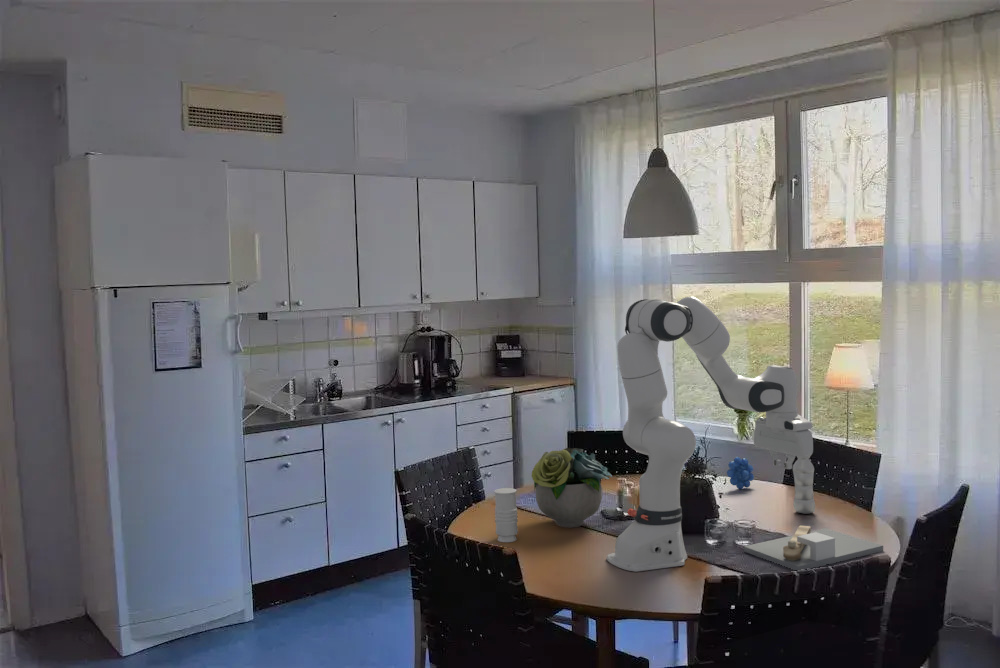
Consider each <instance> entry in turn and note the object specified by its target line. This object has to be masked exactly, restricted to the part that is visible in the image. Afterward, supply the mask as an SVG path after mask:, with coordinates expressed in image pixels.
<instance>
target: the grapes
mask: <svg viewBox="0 0 1000 668" xmlns="http://www.w3.org/2000/svg"><path fill="white" fill-rule="evenodd" d="M727 464H728V468H729V469H728V470H727V471H726V476H727V477H728V478H729V483H730V484H731V485H732V486H736V488H737V489H738V490H743V489H744V488H750V486H751V482H752V481H754V480H755V475H754V474H753V471H754V467H753V466H752V465H751V464H749V460H748V459H747V458H745V457H744V458H740V457H739V456H736V457H735V458H734V459H733V461H729V462H728V463H727Z"/></svg>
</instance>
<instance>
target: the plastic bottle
mask: <svg viewBox="0 0 1000 668" xmlns="http://www.w3.org/2000/svg"><path fill="white" fill-rule="evenodd" d="M796 458H797V460H795V462H793V463H794V464H792V473H793V478H794V479H793V480H794V498H793V509H794V511H795V512H796V513H798V514H799V513H800V514H804V515H806V514H812V513H814V512H815V509H816V502H815V501H816V500H815V499H814V490H813V489H814V485H813V484H814V474H815V473H814V472H815V467H814V465H813V463H812V461H811V460H810V459H811V456H809V457H798V456H796Z"/></svg>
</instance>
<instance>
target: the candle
mask: <svg viewBox="0 0 1000 668" xmlns="http://www.w3.org/2000/svg"><path fill="white" fill-rule="evenodd" d="M493 492H494V494H495V495H494V497H495V498H494V501H495V508H494V511H495V512H494V515H495V516H494V518H495V520H494V523H495V534H496V535H497V536H498V537H497V541H498V542H500V543H512V542H516V541H517V536H516V535H517V534H518V533H519V529H518V522H519V520H518V514H519V513H518V507H517V489H516V488H512V487H501V488H496V489H494V491H493Z"/></svg>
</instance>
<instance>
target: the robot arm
mask: <svg viewBox="0 0 1000 668" xmlns="http://www.w3.org/2000/svg"><path fill="white" fill-rule="evenodd" d="M624 332H625V335H623V336H622V337H621V338H620V339H619V341H618V342H617V347H616V348H617V360H618V361H617V362H618V367H619V371H620V372H619V373H620V376H621V380H622V384H623V387H624V392H625V396H626V400H627V413H628V414H627V421H626V422H625V423H624V425H623V428H622V429H623V430H622V437H623V440H624V443H626V445H627V446H629V447H630V448H631V449H632V450H634V451H636V452H637V453H639V454H643V455H646V456H648V464H647V467H646V470H645V472H644V473H643V474H641V476H640V478H639V480H638V481H639V483H638V486H639V505H638V507H637V510H636V509H633V508H628V510H627V515H628V516H629V517H633V518H634V521H633V522H631V524H630V525H629V526H628V527H627V528H626V529H625V530H623V531H622V533H620V534H619V535H618V536H617V538H616V540H615V546H614V552H611V553H609V554H607V555H606V560H607V562H609V563H610V564H611V565H612V566H615V567H617V568H619V569H622V570H625V571H630V572H644V571H645V572H646V571H650V570H652V571H653V570H660V569H666V568H674V567H680V566H685V563H686V562H685V561H686V560H687V559H688V554H687V551H686V548H685V543H684V538H683V530H682V520H683V511H682V509H683V508H682V506H681V478H682V476H681V475H682V472H683V468H684V466H685V464H686V462H687V460H689V458H691V457H692V455H693V454H694V452H695V450H696V447H697V439H696V435H695V433H694V432H693V431H692V429H691V428H689V427H688V426H686V425H685V424H683V423H681V422H680V421H677V420H671V419H668V418H667V419H666V418H665V417H664V413H663V403H664V402H665V401H666V399H667V398H668V397H667V396H668V388H667V385H666V382H665V377H664V373H663V369H662V365H661V362H660V358H659V356H658V351H659V350H658V349H659V344H660V341H661V342H668V343H669V342H674V341H678V340H680V339H681V338H682V339H683V340H684V341H685V343H686V344H687V345H688V347H689V348H690V349H691V350H692V352H693V353H695V355H696V358H697V359H698V361H699V363H700V364H701V365H702V367H703V368H704V370H705V371H706V373H707V374H708V376H709V377H710V379H711V380H712V381H713V383H714V384H715V386H716V388H717V391H718V394H719V396H720V399H721V401H722V403H723V404H724V405H725V406H726V407H727V408H729V409H731V410H743V411H748V412H753V413H765V417H763V416H759V417H758V418H757V419H756V420H755V426H754V432H753V445H754V447H755V448H758V449H762V450H767V451H769V455H770V458H771V460H772V466H773V467H776V468H777V467H781V466H782V463H781V462H782V460H781V459H779V455H778V454H779V453H781V454H785V455H786V458H787V460H786V462H783V467H784V469H785V470H793V463H794V461H795V458H796V457H797V456H798V457H809V456H810V457H811V456H812V455H813V453H814V440H813V439H814V438H813V433H812V432H811V430H812V427H813V424H812V422H811V421H810V420H808V419H806V418H805V417H803V416H802V415H800V414H798V406H797V400H798V381H797V375H796V371H795V370H794V369H793V368H792V367H790V366H783V365H776V364H775V365H774V364H771V365H768V366H767V368H766V369H765V370H764V371H763V372H762V373H760V374H759V375H757V376H755V377H748V376H743V375H740V374H737V373H736V372H734V371H733V370H732V368H731V366H730V365H729V364H728V362H727V360H726V359H725V357H724V356H723V354H724V353H726V351H727V350H728V348H729V346H730V343H731V342H730V341H731V335H730V333H729V331H728V329H727V328H726V326H725V324H724V323H723V322H722V321H721V319H719V318H718V316H717V315H716V314H715V312H713V311H712V310H711V309H710V308H709V307H708V306H707V305H706V304H705V303H704V302H702V301H701V300H700V299H698V298H696V297H695V296H686V297H683V298H681V299H679V300H678V301H677V302H673V301H665V300H662V299H657V298H656V299H655V298H653V299H646V298H645V299H640V300H637V301H636V302H634V303H632V304H631V305H630V306H629V307H628V309H627V311H626V315H625V327H624Z"/></svg>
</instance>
